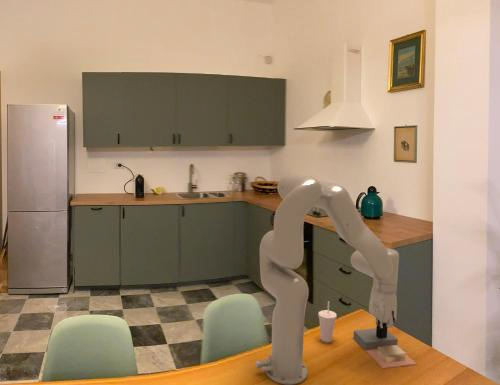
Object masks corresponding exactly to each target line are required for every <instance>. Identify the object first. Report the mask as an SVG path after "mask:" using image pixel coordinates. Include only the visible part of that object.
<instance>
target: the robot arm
mask: <svg viewBox="0 0 500 385" xmlns="http://www.w3.org/2000/svg"><path fill="white" fill-rule="evenodd" d="M276 189H277V193H278V194H279V195H278V196H280V198H281V199H282V201H281V202H280V204H279V205H278V207H276V211H275V214H274V218H273V229H272V230H270V231H268V232H266V233H265V234H264V235H263V236H262V238H261V239H260V240H261V241H260V244H259V270H260V271H259V274H260V276H259V277H260V281H261V285H262V286H263V288H264V290H265V291H266V292H268V293H269V294H270V295H271V296H273V297H274V298H275V301H276V302H275V306H274V308H273V311H272V318H271V354H269V355H268V358H265V360H256V361H255V368H256V369H260V368H261V372H265V374H266V375H267V377H268V378H269V379H270V380H271V381H273V382H275V383H278V384H281V385H296V384H300V383H302V382H304V381H305V380H306V379H307V377H308V368H307V366H306V365H305V364H304V363H303V360H304V359H303V358H304V339H305V338H304V337H305V336H304V335H305V314H306V306H307V303H308V299H309V293H310V292H309V286H308V283H307V282H306V280H305V279H304V277H302V276H301V275H300V274H299V273H297V272H295V271H294V270H296V269H298V268H300V266H301V265H302V263H303V261H304V255H305V254H304V252H305V250H304V224H305V218H306V217H307V214H309V212H310V211H311V209H313V207H314V208H318V209H321V210H324V211H325V212H326V214H327V216H328V218H329V219H330V221H331V223H332V225H333V227H334V229H335V231H336V233H337V234H338V236H339V237H340V238H341V239H342V240H343V241H345V243H346V244H348V245H350V246H351V247H353V248H354V250H355V251H354V252H353V253H352V254H351V256H350V264H351V266H352V267H353V269H354V270H356V271H358V272H360V273H362V274H363V275H366V276H368V277H371V278H373V281H372V287H371V290H370V295H369V303H368V304H369V305H368V311H369V313H370V314H371V315H372V316H373V317H374V318H375V325H376V327H375V328H376V336H377V337H378V338H379V339H382V338H387V330H388V328H394V323H395V322H396V321H397V315H398V314H397V313H398V300H397V299H398V298H397V290H398V289H397V288H398V280H399V279H398V277H399V276H398V275H399V265H400V263H399V262H400V254H399V252H398V251H397V250H396V249H392V248H388V247H386V246H385V245H384V243H383V242H382V241H381V239H380V238H379V237H378V236H377V235H376V234H375V233H374V232H373V231H372V229H370V228H369V227H368V226H367V225H366V223H364V221H363V219H362V218H361V215H360V213H359V210H358V209H357V207H356V205H355V203H354V201H353V199H352V197H351V195H350V192H348V190H347V189H346V188H345V187H344V186H343V185H341V184H340V185H339V184H336V183H330V182H325V181H320V180H317V178H314V177H310V176H307V175H300V174H294V173H293V174H292V173H290V174H285V175H284V176H282V177H281V178H280V179H279V181H278V183H277V188H276Z"/></svg>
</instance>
